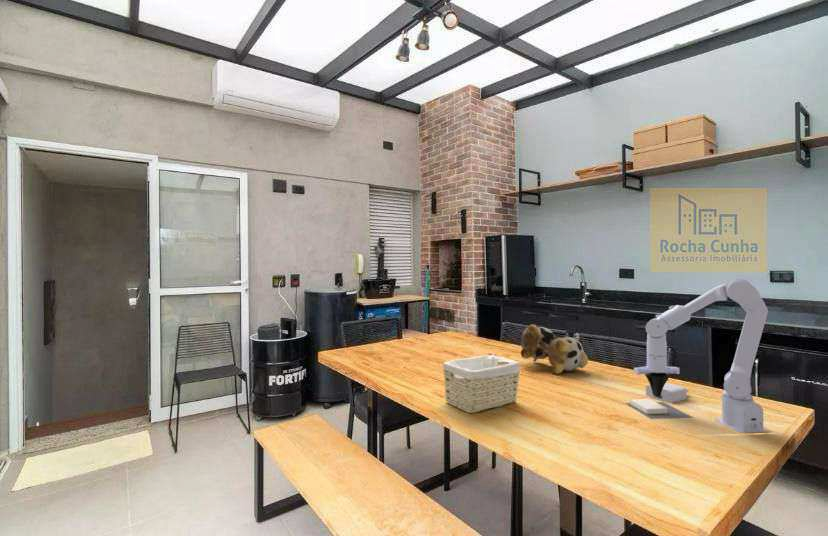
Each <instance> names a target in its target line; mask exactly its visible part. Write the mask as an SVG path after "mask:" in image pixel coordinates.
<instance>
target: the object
mask: <svg viewBox="0 0 828 536" xmlns="http://www.w3.org/2000/svg"><path fill="white" fill-rule="evenodd" d="M494 355H495V354H492V355H478V356H472V357H465V358H458V359H452V360H447V361H444V362H443V367H442V368H443V375H444V377H443V379H444V391H445V392H444V393H445V402H446V403H447V404H450V405H451V406H453V407H454V408H455V407H456V408H458V409H459V410H461V411H464V412H467V413H469V414H473V413H475V414H476V413H478V412H482V411H486V410H489V409H493V408H499V407H503V406H505V405H510V404H512V403H516V402H517V393H518V387H519V386H518V385H519V378H520V373H521V362H520V361H516V360H514V359H509V358H506V357H501V356H498V355H497V356H494Z"/></svg>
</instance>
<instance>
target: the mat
mask: <svg viewBox="0 0 828 536" xmlns="http://www.w3.org/2000/svg"><path fill="white" fill-rule="evenodd" d="M655 402H656V403H658V404H660V405H662V406H664V407H666V408H668V413H667V414H646V413H644V412H642V411H641V410H639V409H637V408H636V407H634V406H632V405H631V404H630V402H624V404H625V405H626V406H629V407H630V408H632V409H633V410H635V411H637V412H639V413H640V414H642V415H644V416H645V417H647V418H649V419H650V420H655V419H656V420H657V419H661V420H662V419H685V418H686V419H690V418H694V416H691V415H690V414H688V413H686V412H683V411H681V410H679V409H677V408H676V407H673V406H671V405H670V404H668V403H666V402H665V401H658V402H657V401H655Z"/></svg>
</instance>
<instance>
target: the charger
mask: <svg viewBox="0 0 828 536" xmlns="http://www.w3.org/2000/svg"><path fill="white" fill-rule="evenodd" d="M688 392H689V390H688V389H687V388H685V387H684V386H681V385H676V384H673V383H669V382H666V383H665V385H664V387H663V389H662V393H661V396H655V395H653V393H652V389H651V386H650V384H647V385H646V386H645V397H650V398H653V399H657V400H658V401H659V400H660V401H662V402H665V403H666V402H667V403H669V404H673V403H678V402H682V401H684V400H687V396H688V395H687V393H688Z"/></svg>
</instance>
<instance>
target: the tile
mask: <svg viewBox="0 0 828 536" xmlns="http://www.w3.org/2000/svg"><path fill="white" fill-rule="evenodd" d="M656 402H657V401H655V400H654V399H653V400H652V399H651V398H641V399H640V398H638V399H635V398H633V399H629V403H630V404H631V405H632V406H634V407H636V408H637V409H639V410H641V411H642V412H644V413H646V414H667V413H668V408H666V407H664V406H662V405H660V404H658V403H656Z"/></svg>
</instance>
